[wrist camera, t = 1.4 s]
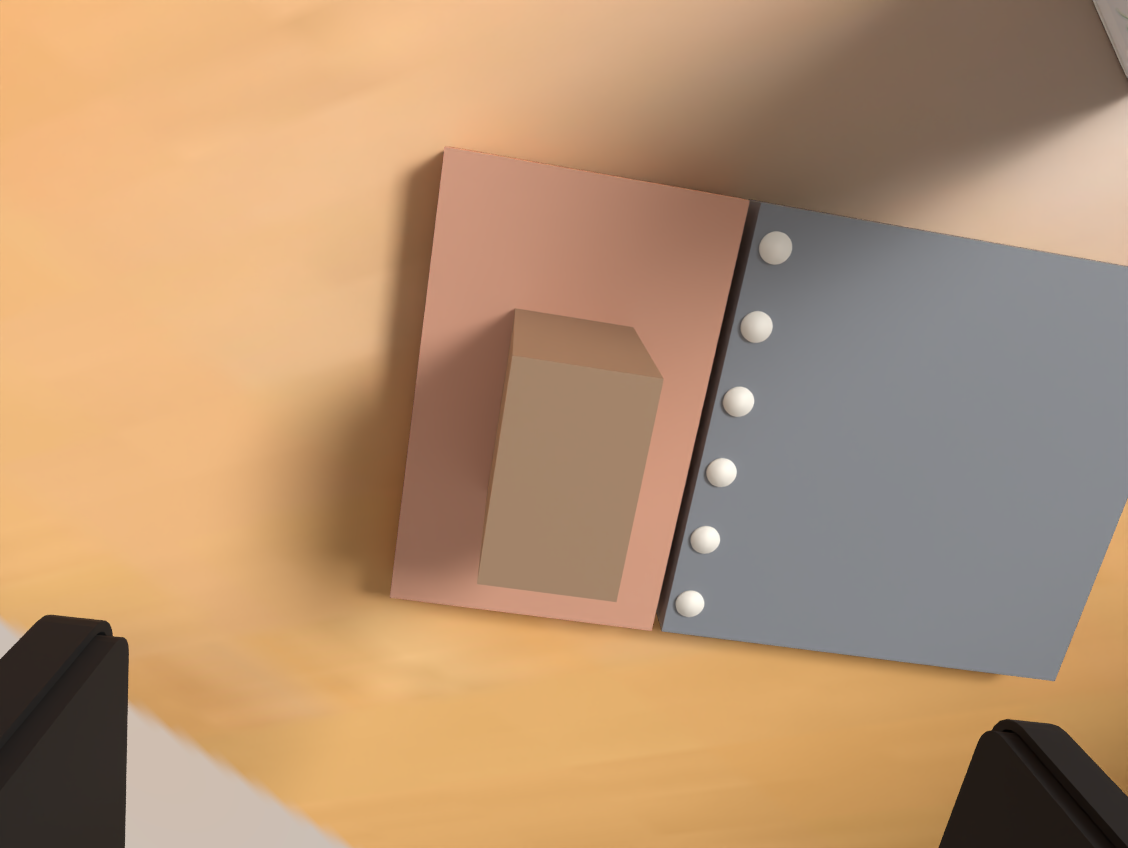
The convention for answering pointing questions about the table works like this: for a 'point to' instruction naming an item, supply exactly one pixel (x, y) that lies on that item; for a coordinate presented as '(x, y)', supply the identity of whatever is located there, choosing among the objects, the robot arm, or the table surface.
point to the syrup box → (1116, 26)
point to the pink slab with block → (559, 387)
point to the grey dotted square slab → (904, 447)
